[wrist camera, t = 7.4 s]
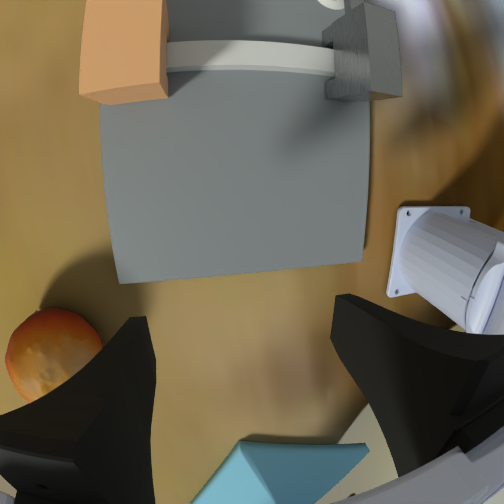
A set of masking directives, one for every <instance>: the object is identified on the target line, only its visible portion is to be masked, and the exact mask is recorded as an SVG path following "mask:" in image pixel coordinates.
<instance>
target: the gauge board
mask: <svg viewBox="0 0 504 504" xmlns="http://www.w3.org/2000/svg"><path fill="white" fill-rule="evenodd" d="M166 3H167V10H168V19H169V41H167V65H166V74H167V77H168V99H157V100H147V101H139V102H131V103H124V104H117V105H111V106H109V105H107V104H101V103H100V132H101V152H102V166H103V178H104V189H105V198H106V207H107V215H108V222H109V229H110V236H111V242H112V249H113V255H114V260H115V266H116V271H117V276H118V281H119V284H128V283H141V282H154V281H166V280H178V279H190V278H201V277H212V276H224V275H234V274H245V273H255V272H266V271H276V270H286V269H295V268H305V267H314V266H324V265H333V264H342V263H351V262H360V261H362V256H363V246H364V236H365V225H366V213H367V199H368V181H369V155H370V101H367V102H360V101H358V102H352V103H351V102H343V101H334V100H325V93H324V82H326V81H329V80H332V79H334V78H335V68H334V49H333V48H326V47H323V45H322V31H323V30H325V29H326V28H327V27H329V26H330V25H332V23H333V22H334V21H336V20H337V19H338V18H340V17H341V16H343V15H344V14H345V8H344V0H166Z"/></svg>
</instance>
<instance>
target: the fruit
mask: <svg viewBox="0 0 504 504" xmlns="http://www.w3.org/2000/svg"><path fill="white" fill-rule="evenodd" d="M102 348H103V345H102V341H101V339H100V337H99V335H98V334H97V332H96V331H95V330H94V328H93V327H92V326H90V325H89V324H88V323H87V322H86V321H85V320H84V319H83V318H82V317H81V316H80V315H78V314H76V313H74V312H71V311H67V310H63V309H60V308H56V307H52V308H45V309H42V310H40V311H37V310H36V312H35V313H34V314H32V315H31V316H29V317H28V318H27V319H26V320H25V321H24V322H23V323H22V324H20V326H19V327H18V328H17V329H16V330H15V331H14V332H13V334H12V335H11V337H10V341H9V344H8V348H7V352H6V356H5V363H6V367H7V370H8V373H9V376H10V378H11V380H12V382H13V385H14V387H15V388H16V390H17V391H18V392H19V394H20V395H21V396H22V397H23V398H24V400H26V401H27V402H28V403H31V402H33V401H35V400H37V399H39V398H40V397H42V396H44V395H46V394H47V393H49V392H51V391H52V390H53V389H55V388H56V387H58V386H59V385H61V384H62V383H64V382H65V381H67V380H68V379H69V378H71V377H72V376H73V375H74V374H76V373H77V372H78V371H79V370H81V369H82V368H83V367H84V366H85V365H86V364H87V363H88V362H89V361H90V360H91V359H92V358H93V357H94V356H95V355H96V354H97V353H98V352H99V351H100V350H101V349H102Z"/></svg>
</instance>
